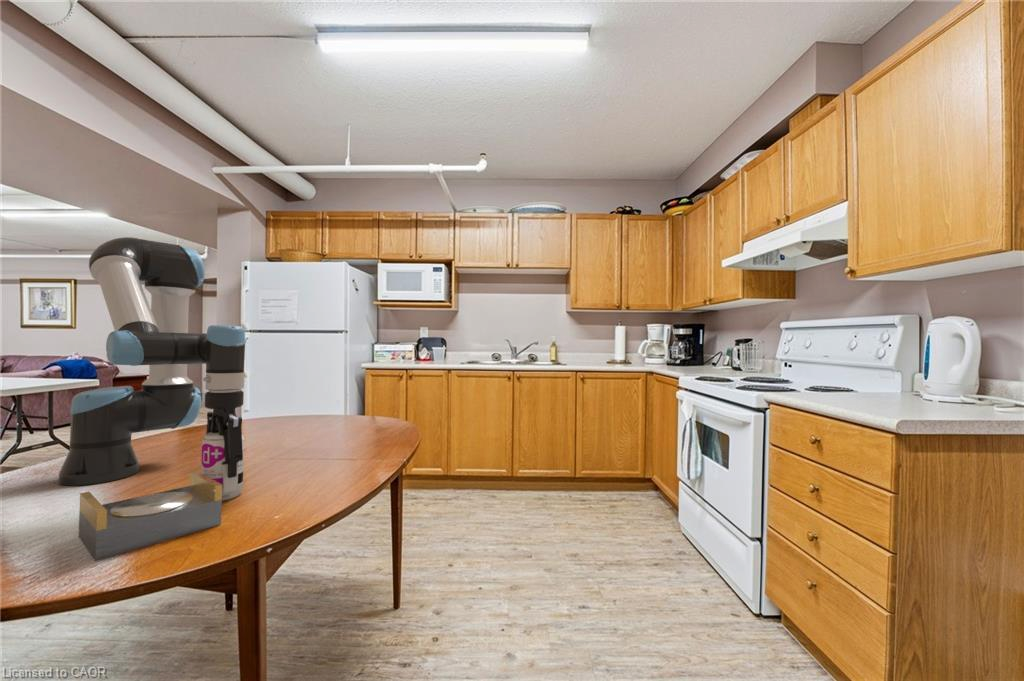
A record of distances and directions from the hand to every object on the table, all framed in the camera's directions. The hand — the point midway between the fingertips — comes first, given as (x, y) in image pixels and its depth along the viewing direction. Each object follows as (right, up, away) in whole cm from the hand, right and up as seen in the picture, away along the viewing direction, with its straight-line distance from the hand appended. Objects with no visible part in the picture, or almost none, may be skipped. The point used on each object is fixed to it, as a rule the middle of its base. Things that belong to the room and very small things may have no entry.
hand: (222, 486), depth 98 cm
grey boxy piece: (-1, -2, -18) cm, 18 cm away
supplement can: (0, -2, 0) cm, 2 cm away
